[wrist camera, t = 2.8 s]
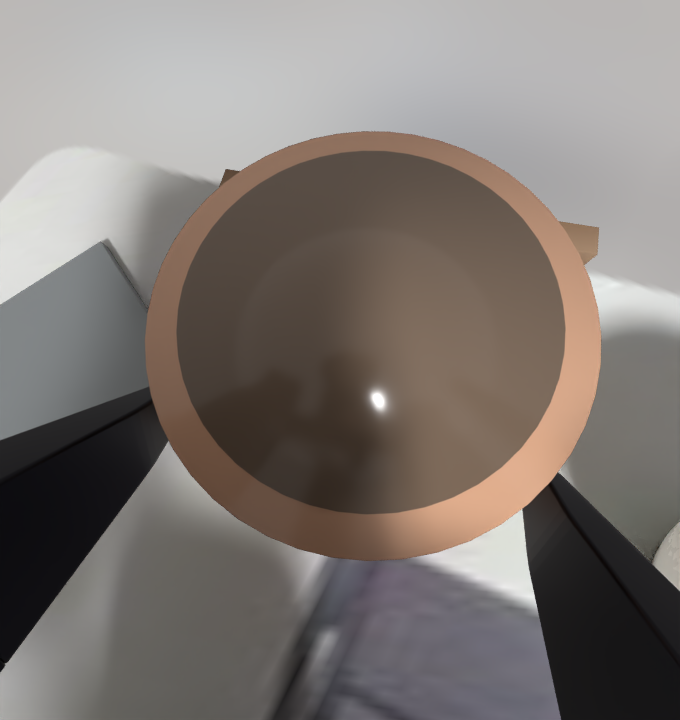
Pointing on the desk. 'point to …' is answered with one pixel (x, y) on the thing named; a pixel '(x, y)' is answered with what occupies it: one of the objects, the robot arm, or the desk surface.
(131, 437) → the robot arm
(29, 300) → the slate mat
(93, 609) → the desk surface
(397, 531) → the terracotta pot
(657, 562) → the lidded jar
